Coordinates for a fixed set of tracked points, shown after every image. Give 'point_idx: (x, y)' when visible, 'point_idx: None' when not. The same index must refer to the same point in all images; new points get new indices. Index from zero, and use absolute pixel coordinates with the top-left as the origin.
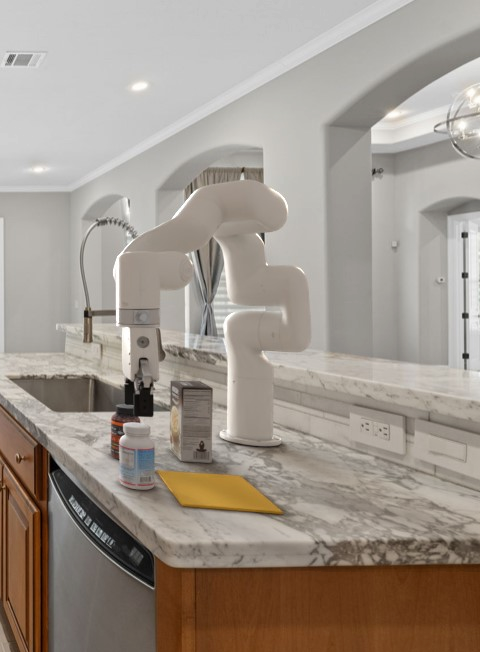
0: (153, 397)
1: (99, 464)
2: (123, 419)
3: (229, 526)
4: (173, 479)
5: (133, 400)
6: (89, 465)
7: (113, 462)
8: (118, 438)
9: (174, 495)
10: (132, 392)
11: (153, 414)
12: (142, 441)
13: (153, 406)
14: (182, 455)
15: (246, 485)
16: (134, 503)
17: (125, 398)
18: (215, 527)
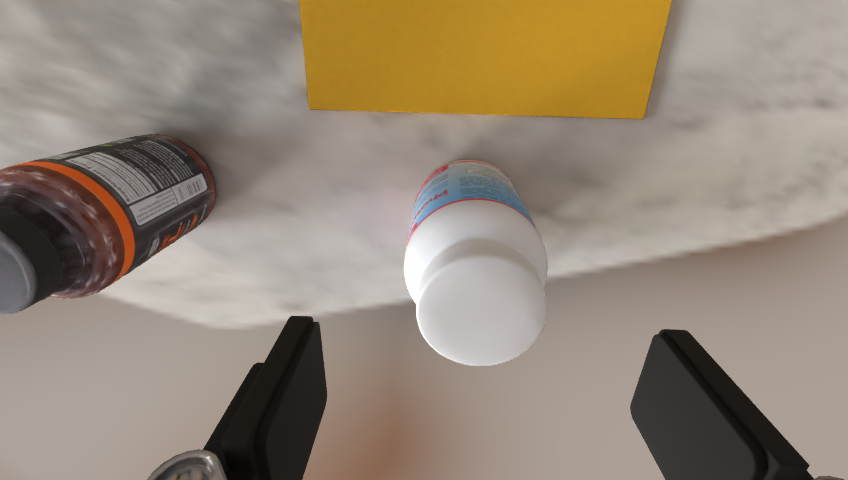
0: (784, 439)
1: (285, 272)
2: (104, 262)
3: (810, 16)
4: (405, 76)
5: (317, 382)
6: (306, 300)
7: (247, 229)
8: (169, 241)
9: (555, 116)
10: (299, 439)
11: (689, 335)
12: (540, 272)
13: (729, 377)
14: None
15: None
16: (617, 243)
17: (315, 431)
18: (810, 66)
